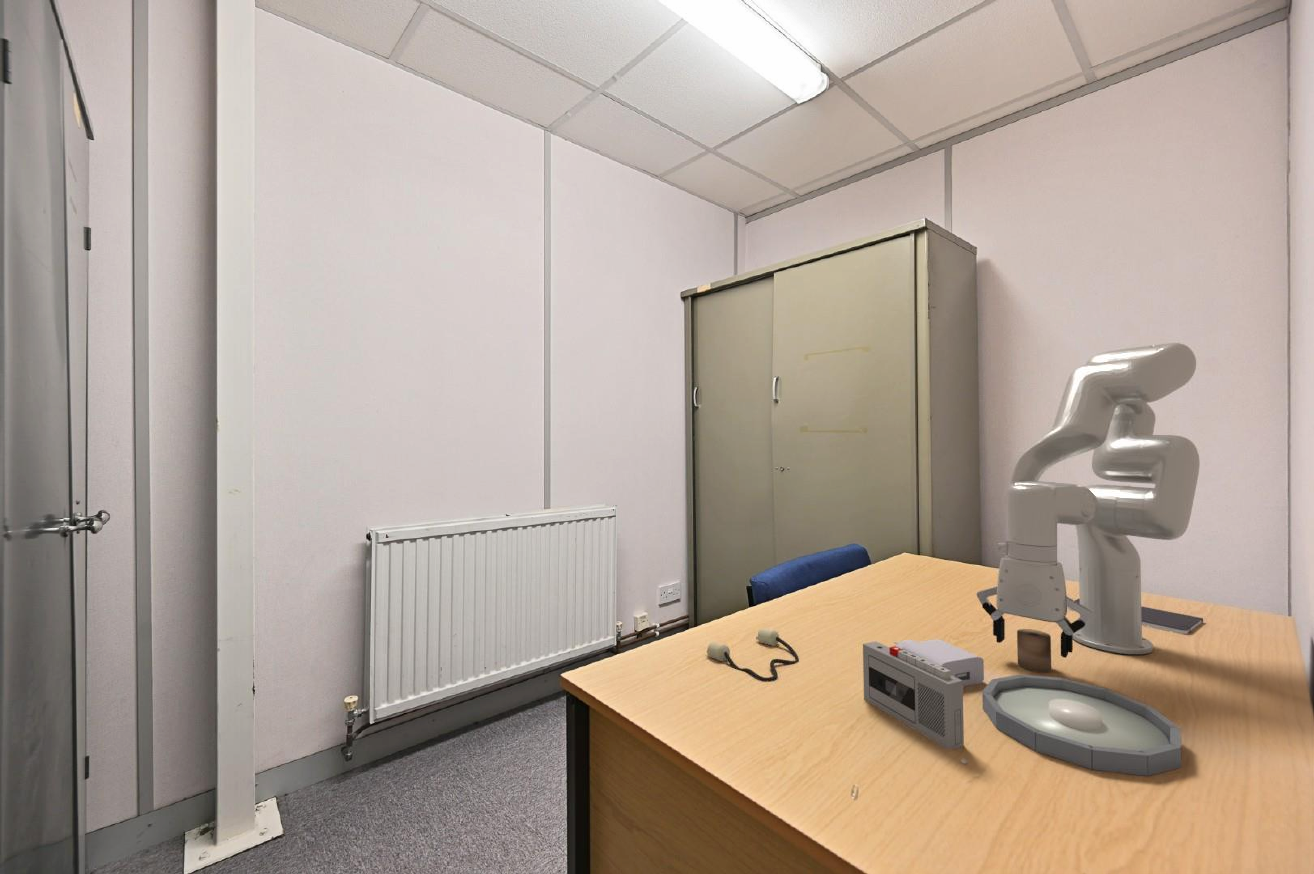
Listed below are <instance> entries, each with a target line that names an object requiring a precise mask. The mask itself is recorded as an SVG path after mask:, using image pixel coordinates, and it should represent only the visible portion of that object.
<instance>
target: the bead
mask: <svg viewBox="0 0 1314 874" xmlns="http://www.w3.org/2000/svg"><path fill="white" fill-rule="evenodd" d="M1016 636H1017V637H1016V641H1017V642H1016V643H1017V644H1016V645H1017V652H1016V653H1017V666H1018V667H1019V668H1021V669H1023V670H1026V671H1029V672H1032V673H1036V674H1037V673H1039V674H1049V673H1051V672H1052V639H1051V638H1052V636H1051V635H1050V634H1049V633H1047V632H1044V631H1042V630H1036V629H1030V628H1022V629H1021V628H1020V629H1018V630H1017V631H1016Z"/></svg>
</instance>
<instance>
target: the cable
mask: <svg viewBox="0 0 1314 874" xmlns="http://www.w3.org/2000/svg"><path fill="white" fill-rule="evenodd" d="M755 639H756V640H757V641H758V642H759V644H763V643H764V645H767V644H768V646H770V645H771V646H772V647H775V646H774V645H776V646H777V645H778V644H779V643H780V644H781V645H783V646H784V647H785V648H786V649H787V650H788V651H789V652H790V653H791V655H792V656H793V657H795V658H794V660H790V659H789V660H787V659H783V658H782V659H781V658H774V659H773V658H772V660H771V661H770V663H769V666H770V669H771V672H772V674H773V676H769V677H763V676H762V675H759V674H757V673H756V672H755V671H754V670H753V669H750V668H747V667H743V668H742V667H739V666H738V665H737V664H736V663H734V661H733V659H732V658H731V656H730V655H731V650H730V647H729V646H728V645H727V644H724V643H721V642H717V641H711V642H710V643H709V644H708V646H707V648H706V649H707V650H706V654H707V655H708V657H710V658H711V659H714V660H717V661H719V662H726V661H727V662H728V663H729V665H730V666H731V668H733V669H735V670H737V671H740V672H744V673H747V674H749V675H750V676H752V677H753V678H755V679H757V680H759V681H761V682H773V681H775V680H777V679H778V675H779V674H778V671H777V669H776V667H775V664H782V665H793V664H797V663H799V662H800V658H799V655H798V654H797V652H796V651H795V650H794V649H793V647H792V646H791V645H790V644H788V643H787V642H786V641H785V640H784V639H781V637H780V635H779V632H778V631H777V630H774V629H770V628H765V627H762V628H759V631H758V633H757V636H755Z"/></svg>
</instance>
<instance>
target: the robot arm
mask: <svg viewBox="0 0 1314 874" xmlns="http://www.w3.org/2000/svg"><path fill="white" fill-rule="evenodd" d="M1196 369H1197V358H1196V356H1195V353H1194V351H1193V350H1192V348H1190V347H1189V346H1187V345H1185V344H1183V343H1180V342H1169V343H1159V344H1153V345H1147V346H1138V347H1130V348H1129V347H1128V348H1121V349H1115V350H1108V351H1104V352H1101V353H1097V354H1096V355H1093V356H1091V357H1090V358H1089V359H1088V360H1087V361H1086V363H1085V364H1084V365H1081V366H1079V367H1077V368H1075V369H1074V370H1072V372H1071V373H1070V375H1069V376H1068V379H1067V381H1066V385H1065V387H1064V389H1063V390H1064V391H1063V394H1062V396H1061V400H1060V402H1059V406H1058V409H1057V411H1056V412H1057V413H1056V416H1055V418H1054V421H1053V425H1052V428H1051V429H1050V431H1049V432H1047V433H1046V434H1045V435H1043V436H1042V437H1040V438H1039V439H1037V440H1036V441H1035V442H1034V443H1032V444H1031V446H1029V447H1028V448H1027V449H1025V451H1024V452H1023V453H1022V454H1021V455H1020V456H1019V457H1018V458H1017V460H1016V461H1015V462H1014V465H1013V466H1012V469H1011V472H1010V475H1009V478H1008V480H1007V483H1006V487H1005V495H1004V503H1005V506H1006V541H1005V542H998V543H997V550H999V551H1002V552H1004V553H1005V555H1004V556H1002V557H1001V559H1000V562H999V568H998V574H997V575H998V576H997V585H996V586H994V587H989V588H986V589H982V590H979V591H977V592H976V597H977V599H978V600H979V602H980V604H981V606H982V609H983V610H984V611H985V612H986V614H988V615H989V616H990V618H991V620H992V635H993V636H994V637H995V639H996V643H998V644H999V643H1003V641H1004V640H1005V638H1006V637H1005V636H1006V634H1005V631H1006V629H1005V627H1006V625H1005V624H1006V623H1005V622H1006V621H1005V618H1004V616H1003V615H1006V614H1007V615H1010V616H1016V617H1020V618H1021V617H1022V618H1026V619H1032V620H1036V621H1043V622H1048V623H1056V624H1057V625H1058V626H1059V628H1060V629H1061V630H1062V632H1061V633H1060V656H1061V657H1062V658H1067V657H1068V655H1069V653H1070V654H1071V653H1073V647H1074V646H1073V644H1074V641H1073V640H1075V642H1077V643H1079V644H1081V645H1083V646H1087V647H1091V648H1093V649H1095V650H1096V649H1097V650H1100V651H1105V652H1111V653H1115V654H1123V655H1146V654H1147V655H1148V654H1150V653H1152V652H1153V651H1154V645H1153V643H1152V642H1151V641H1150V639H1148V638H1145V637H1143V628H1142V627H1143V626H1142V613H1141V606H1142V572H1141V571H1142V569H1141V567H1142V565H1141V564H1142V563H1141V557H1140V553H1139V552H1138V550H1137V548H1136V547H1135V545H1134V544H1133V542H1132V541H1131V540H1130V539H1129V537H1128V536H1130V537H1138V538H1145V539H1146V538H1147V539H1153V540H1154V539H1155V540H1161V541H1171V540H1172V541H1173V540H1176V539H1179V538H1181V537H1182V536H1183V535H1184V534H1185V533H1186V532H1187V529H1188V528H1189V527H1188V526H1189V523H1190V519H1191V515H1192V510H1193V505H1194V499H1195V494H1196V488H1197V485H1198V479H1199V475H1200V474H1199V473H1200V455H1199V451H1198V448H1197V447H1196V445H1195V444H1194V442H1193V441H1192V440H1190V439H1189V438H1187V437H1185V436H1181V435H1175V434H1154V430H1155V425H1156V419H1157V417H1156V414H1155V412H1154V409H1152V407H1151V406H1150V405H1149V403H1152V402H1157V401H1159V400H1162V399H1163V398H1165V397H1167V396H1169V395H1171V394H1172V393H1173V392H1175V391H1177V390H1179V389H1180V388H1182V387H1183V386H1185V385H1186V384H1188V382H1190V380H1191V379H1192V378H1193V376H1194V374H1195V372H1196ZM1092 450H1093V452H1092V460H1091V469H1092V472H1093V473H1094V475H1096V477H1097V478H1100V479H1103V480H1105V481H1110V482H1111V481H1112V482H1120V483H1135V484H1147V485H1148V484H1151V485H1153V484H1154V487H1144V486H1143V487H1141V486H1131V485H1116V484H1113V485H1112V484H1090V485H1086V486H1083V485H1080V484H1076V483H1067V482H1066V483H1064V482H1054V481H1053V482H1052V481H1051V482H1050V481H1039V480H1040V478H1041V476H1042V475H1043V474H1044V473H1045V472H1046V471H1047V470H1048V469H1049V468H1051V467H1052V466H1054V465H1056V464H1057V463H1058V464H1059V463H1060V462H1062V461H1064V460H1067V459H1070V458H1073V457H1076V456H1079V455H1082V454H1084V453H1088V452H1090V451H1092ZM1058 524H1062V525H1070V526H1075V529H1076V535H1077V544H1078V545H1077V547H1078V581H1079V582H1078V585H1079V589H1078V590H1079V591H1078V592H1079V598H1080V604H1079V603H1077V602H1076V601H1075V600H1074V599H1073V598H1071V597H1068V596H1067V586H1066V585H1067V583H1066V578H1065V574H1064V573H1065V572H1064V568H1063V564H1062V563H1061V562H1058ZM995 595H996V607H995V606H994V604H992V603H991V602H990V600H989V597H992V596H995ZM1068 607H1069V608H1071V609H1072V610H1074V612H1075V613H1078V614H1079V617H1078V618H1077V619H1076V620H1074V621H1073V622H1072V621H1070V619H1068V617H1066V616H1067V613H1068ZM1072 610H1071V611H1072Z"/></svg>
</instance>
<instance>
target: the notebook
mask: <svg viewBox="0 0 1314 874" xmlns="http://www.w3.org/2000/svg"><path fill="white" fill-rule="evenodd" d="M1074 601H1076V602H1077V603H1079V604H1080V597H1079V598H1077V599H1075V600H1074ZM1068 610H1069V611H1074V610H1072V609H1071V608H1069V607H1067V611H1068ZM1074 612H1075V611H1074ZM1141 613H1142V627H1147V626H1149V627H1148V628H1151V627H1152V628H1151V629H1157V630H1162V631H1165V630H1168V631H1167V632H1170V631H1172V633H1174V634H1179V635H1180V634H1181V635H1188V634H1191V633H1192V631H1193V630H1194V629H1195V628H1197V627H1198V626H1199V625H1201V623H1202V622H1203V623H1204V618H1203V617H1198V616H1193V615H1188V614H1183V613H1178V612H1173V611H1167V610H1162V609H1158V608H1157V609H1156V608H1151V607H1147V606H1142V605H1141Z"/></svg>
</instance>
